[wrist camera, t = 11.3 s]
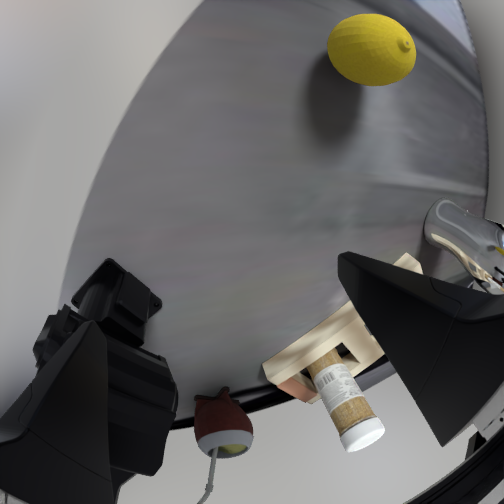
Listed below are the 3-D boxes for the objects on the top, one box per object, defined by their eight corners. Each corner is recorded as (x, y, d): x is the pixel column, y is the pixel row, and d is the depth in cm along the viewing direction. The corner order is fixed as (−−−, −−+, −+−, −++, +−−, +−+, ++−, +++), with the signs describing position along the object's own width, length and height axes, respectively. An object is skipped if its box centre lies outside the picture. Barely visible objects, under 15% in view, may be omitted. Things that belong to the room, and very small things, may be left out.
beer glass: (456, 230, 29) (539, 291, 16) (422, 257, 30) (508, 331, 17) (454, 184, 26) (554, 239, 13) (417, 209, 26) (526, 281, 13)
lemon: (334, 15, 15) (396, -11, 9) (378, 60, 18) (447, 55, 11) (296, 54, 17) (353, 31, 10) (346, 100, 19) (414, 104, 12)
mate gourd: (252, 387, 33) (285, 491, 20) (227, 416, 36) (250, 507, 23) (197, 380, 30) (218, 498, 17) (178, 411, 33) (192, 510, 20)
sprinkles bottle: (311, 372, 34) (352, 455, 23) (297, 357, 32) (341, 451, 20) (340, 353, 34) (389, 434, 22) (329, 337, 32) (383, 427, 20)
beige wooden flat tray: (305, 391, 36) (311, 406, 34) (261, 363, 31) (268, 381, 29) (421, 302, 34) (433, 313, 31) (406, 252, 28) (421, 264, 26)
